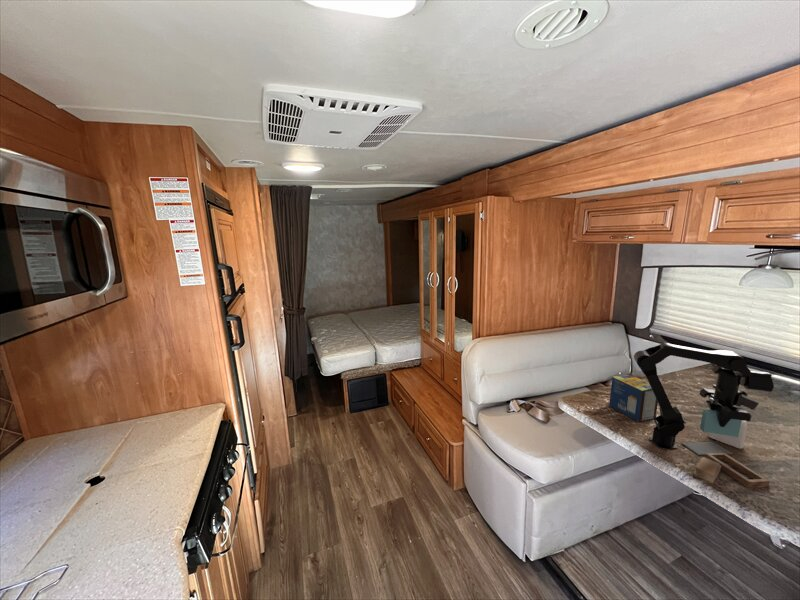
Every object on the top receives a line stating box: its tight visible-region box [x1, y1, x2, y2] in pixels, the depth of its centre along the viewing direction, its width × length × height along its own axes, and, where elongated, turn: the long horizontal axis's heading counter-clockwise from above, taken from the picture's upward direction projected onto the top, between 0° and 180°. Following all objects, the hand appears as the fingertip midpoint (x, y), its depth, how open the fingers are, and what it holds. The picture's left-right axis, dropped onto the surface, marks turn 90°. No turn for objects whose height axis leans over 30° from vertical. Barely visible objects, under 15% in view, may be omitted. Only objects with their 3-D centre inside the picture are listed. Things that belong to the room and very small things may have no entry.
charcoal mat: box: [681, 441, 733, 457], centre depth 121 cm, size 13×7×1 cm, turn 92°
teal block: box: [699, 408, 742, 437], centre depth 115 cm, size 2×10×8 cm, turn 70°
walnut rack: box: [704, 453, 771, 488], centre depth 109 cm, size 7×14×2 cm, turn 2°
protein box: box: [608, 374, 659, 422], centre depth 147 cm, size 10×15×16 cm
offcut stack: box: [693, 456, 722, 484], centre depth 109 cm, size 5×11×3 cm, turn 124°
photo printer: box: [707, 420, 748, 450], centre depth 124 cm, size 10×4×12 cm, turn 29°
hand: (719, 424), depth 115 cm, fingers closed on teal block, 2 cm apart
